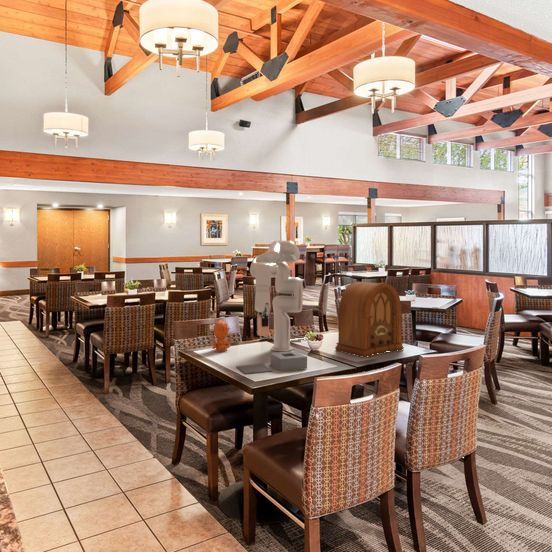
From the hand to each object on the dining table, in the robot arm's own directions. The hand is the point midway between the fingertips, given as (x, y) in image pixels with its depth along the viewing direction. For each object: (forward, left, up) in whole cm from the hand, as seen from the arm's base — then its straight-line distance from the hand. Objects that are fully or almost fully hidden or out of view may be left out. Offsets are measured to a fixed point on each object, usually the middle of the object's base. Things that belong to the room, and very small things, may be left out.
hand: (263, 325), depth 235 cm
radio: (-17, +72, -22) cm, 78 cm away
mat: (0, -5, -22) cm, 22 cm away
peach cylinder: (0, 0, -5) cm, 5 cm away
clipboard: (-68, +40, -23) cm, 82 cm away
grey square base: (+1, +13, -22) cm, 26 cm away
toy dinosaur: (-47, -9, -22) cm, 53 cm away
